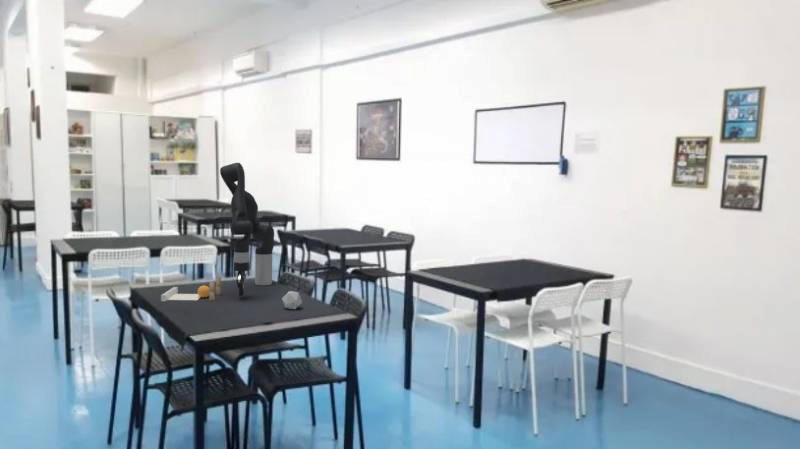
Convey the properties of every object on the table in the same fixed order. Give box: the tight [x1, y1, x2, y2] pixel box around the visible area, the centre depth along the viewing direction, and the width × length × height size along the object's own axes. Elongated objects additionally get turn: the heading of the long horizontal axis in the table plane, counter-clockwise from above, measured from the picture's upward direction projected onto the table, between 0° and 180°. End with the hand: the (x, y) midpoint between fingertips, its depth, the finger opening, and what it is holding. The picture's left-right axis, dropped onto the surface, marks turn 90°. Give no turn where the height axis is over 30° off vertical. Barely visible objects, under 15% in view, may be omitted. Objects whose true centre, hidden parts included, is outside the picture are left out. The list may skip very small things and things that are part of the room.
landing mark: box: [167, 293, 202, 301], centre depth 297 cm, size 14×14×1 cm
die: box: [281, 290, 303, 311], centre depth 280 cm, size 8×9×10 cm
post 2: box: [215, 276, 222, 296], centre depth 304 cm, size 2×2×9 cm
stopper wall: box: [160, 286, 179, 302], centre depth 296 cm, size 20×2×3 cm, turn 4°
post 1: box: [208, 281, 216, 302], centre depth 291 cm, size 2×2×9 cm
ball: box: [197, 285, 209, 299], centre depth 298 cm, size 6×6×6 cm
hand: (241, 295), depth 298 cm, fingers closed
